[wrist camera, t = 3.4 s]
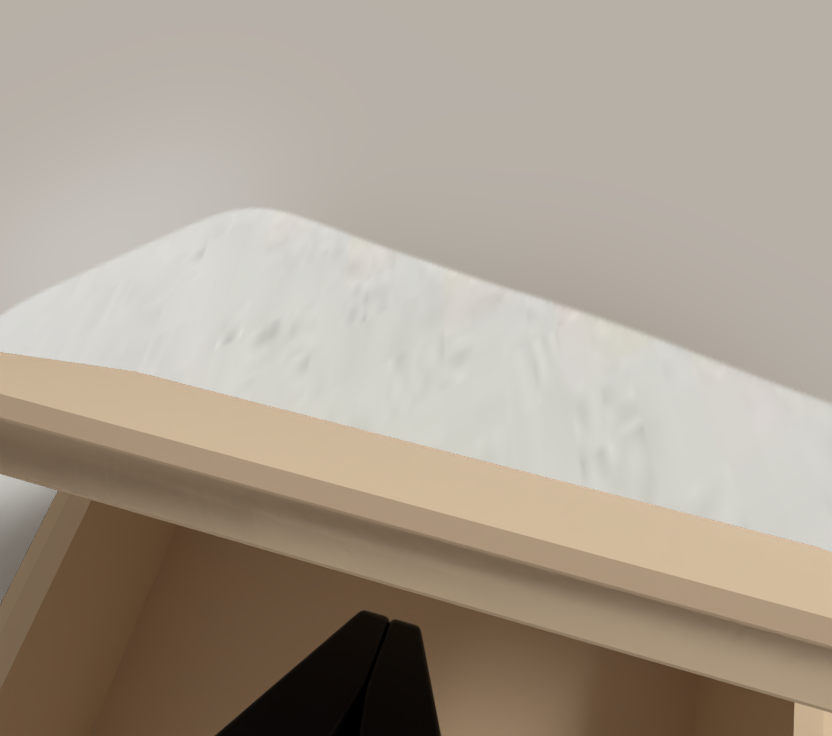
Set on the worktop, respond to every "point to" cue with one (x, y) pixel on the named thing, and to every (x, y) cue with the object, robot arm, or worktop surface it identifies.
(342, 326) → the worktop surface
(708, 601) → the carton flap
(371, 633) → the robot arm
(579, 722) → the carton
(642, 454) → the worktop surface
